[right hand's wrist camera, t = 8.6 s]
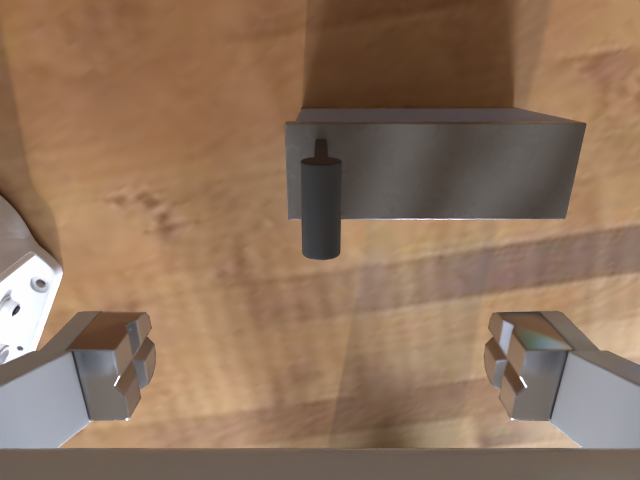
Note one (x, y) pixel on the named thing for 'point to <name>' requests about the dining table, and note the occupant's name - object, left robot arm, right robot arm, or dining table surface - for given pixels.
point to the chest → (422, 114)
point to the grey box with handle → (425, 172)
